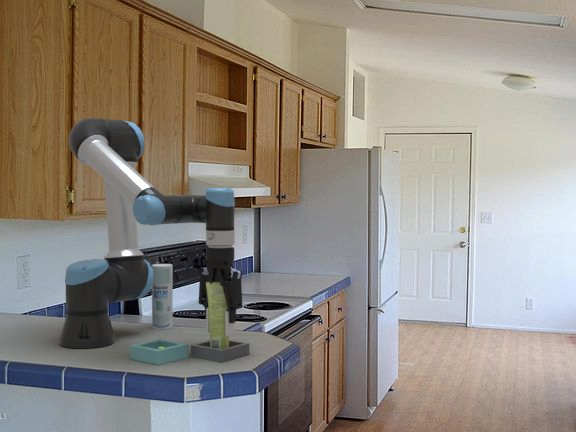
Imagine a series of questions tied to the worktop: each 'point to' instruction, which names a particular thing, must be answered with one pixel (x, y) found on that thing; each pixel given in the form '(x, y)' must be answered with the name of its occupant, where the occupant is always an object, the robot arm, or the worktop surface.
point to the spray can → (162, 296)
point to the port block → (158, 351)
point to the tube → (217, 315)
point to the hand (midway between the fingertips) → (220, 333)
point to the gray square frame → (220, 351)
